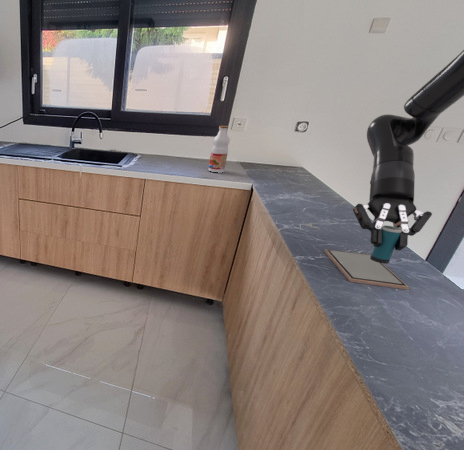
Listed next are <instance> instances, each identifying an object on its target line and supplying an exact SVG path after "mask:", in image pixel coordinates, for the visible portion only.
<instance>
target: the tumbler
mask: <svg viewBox="0 0 464 450" xmlns="http://www.w3.org/2000/svg"><path fill="white" fill-rule="evenodd" d="M381 230H382V243H381V245H380V246H379V247H374V246H373V247H374V248H373V251H372V252H371V254H370V255H371V257H370V259H371V260H373V261H375V262H379V263H383V264H384V265H385V264H389V263H390V261H391V258H392V255H393V253H394V250H395V246H396V243H397V241H398V238H399V236H400V233H401V232H402V229H400V228H398V227H394V226H393V225H382V228H381Z"/></svg>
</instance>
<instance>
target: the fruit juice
mask: <svg viewBox="0 0 464 450" xmlns="http://www.w3.org/2000/svg"><path fill="white" fill-rule="evenodd" d="M218 129H219V130H218V132H217V134H216V136H215V137H214V138H213V140H212V147H211V149H210V150H211V151H210V157H209V162H208V170H209V171H212V172H218V173H217V174H223V173H224V172H225V169H226V163H227V158H228V154H229V144H230V138H229V135H228V129H229V126H228V125H219V127H218ZM208 170H207V171H208ZM209 171H208V172H209ZM212 172H211V173H212ZM222 172H223V173H222Z"/></svg>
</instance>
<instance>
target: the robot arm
mask: <svg viewBox="0 0 464 450" xmlns="http://www.w3.org/2000/svg"><path fill="white" fill-rule="evenodd" d="M463 97H464V49H462V51H461V52H460V53H459V54H458V55H456V57H454V58H453V59H452V60H451V61H450V62H449V63H448V64H447V65H445V66H444V67H443V68H442V69H441V70H439V71H438V72H437V73H436V74H435V75H434V76H432V78H431V79H429V80H428V81H427V82H425V84H424V85H423V86H421V87H420V88H419V89H418V90H416V92H414V93H413V94H412V95H411V96H410V97H409V98H408V99H407V100H406V101H405V102H404V104H403V110H404V111H405V113H406V114H407V115H409V116H410V117H406V116H400V115H396V114H387V113H386V114H381V115H379V116H377V117H376V118H374V119H373V120H371V122H370V123H369V125H368V127H367V129H366V140H367V143H368V146H369V149H370V151H371V154H372V156H373V166H372V172H371V176H370V181H369V184H370V187H369V188H370V189H369V202H367V203H366V204H363V203H357V204H356V205H355V206H354V208H353V209H352V212H353V213H354V216H355V218H356V220H357V222H358V224H359V226H360V227H361V229H362V230H368V231H369V232H370V243H371V244H372V245H373V247H379V246H380V245H381V243H382V230H381V229H382V226H384V222H389V223H392V226H393V227H398V228H400V229H402V232H401V233H400V236H399V238H398V241H397V243H396V246H395V248H394V250H395V251H402V250H404V248H406V247H408V243H409V242H408V241H409V239H408V238H409V236H411V237H412V236H414V235H416V234H417V233H419V232H421V231H422V229H423V228H424V227H425V225H426V224H427V222H428V221H429V220H430V218H431V217H432V215H433V213H432V212H431V211H427V210H426V211H422V210H420V209H417V206H416V205H415V203H414V202H415V178H416V177H415V175H416V174H415V170H414V169H415V168H414V160H415V159H414V157H415V156H414V155H415V153H414V150H413V148H412V147H411V145H413V144H415V143H417V142H418V141H419V140H420V139H422V137H423V136H424V134H426V132H427V131H428V129H429V128H430V127H431V125H432V124H434V122H435V121H436V119H437V118H438V117H439V116H440V115H441V114H442V113H443V112H445V111H446V110H447V109H449V108H450V107H451V106H452V105H454V104H456V102H458V101H459V100H460V99H461V98H463ZM368 211H369V212H370V214H372V216H373V217H374V218H373V220H371V218H370V216H369V215H368ZM411 215H413V220H414V223H413V224H412V225H411V227H409V218H408V217H410V216H411Z"/></svg>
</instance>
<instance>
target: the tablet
mask: <svg viewBox="0 0 464 450" xmlns="http://www.w3.org/2000/svg"><path fill="white" fill-rule="evenodd" d="M324 253H325V255H326V256H327V257H328V258H329V259H330V261H331V262H332V263H333V264H334V265H335V266H336V268H337V269H338V270H339V271H340V272H341V274H342V275H343V276H344V277H345V278H346V279H347V281H348V282H350V283H355V284H356V283H358V284H362V285H369V286H370V285H371V286H378V287H385V288H392V289H398V290H399V289H400V290H405V291H406V290H409V287H410V286H409V285H407V284H406V283H405V282H404V281H403V280H402V279H401V278H399V277H398V276H397V274H395V273H394V272H393V271H392V270H391V269H389V268H388V267H387V266H386V265H385V263H379V262H375V261H373V260H371V259H370V257H371V255H372V254H370V253H360V252H353V251H344V250H343V251H342V250H334V249H327V248H326V249H324Z"/></svg>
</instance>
